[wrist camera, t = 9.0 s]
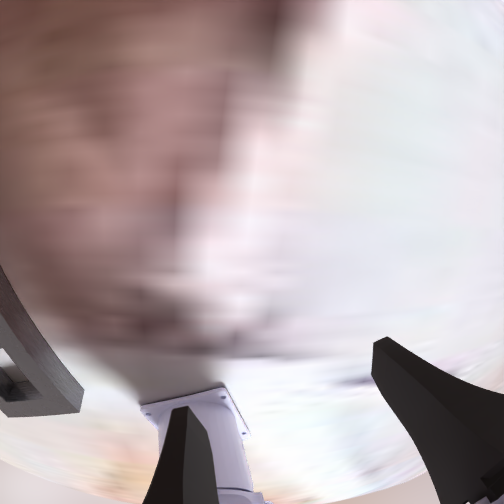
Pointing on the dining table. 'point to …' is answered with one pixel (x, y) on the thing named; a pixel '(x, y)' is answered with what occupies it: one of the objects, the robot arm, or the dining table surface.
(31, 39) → the dining table surface
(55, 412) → the steel frame
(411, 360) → the robot arm
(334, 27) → the dining table surface
